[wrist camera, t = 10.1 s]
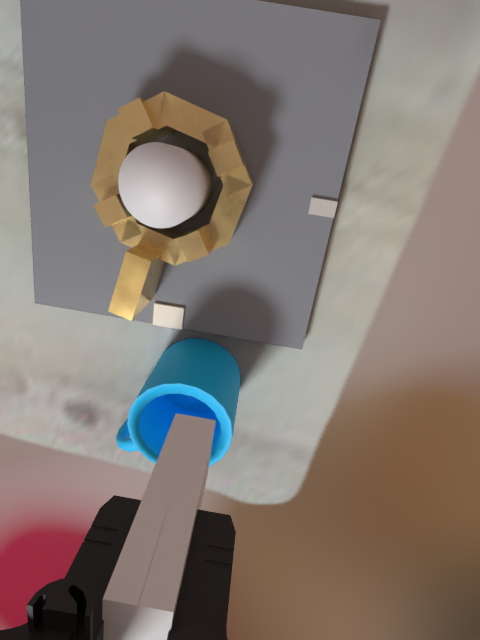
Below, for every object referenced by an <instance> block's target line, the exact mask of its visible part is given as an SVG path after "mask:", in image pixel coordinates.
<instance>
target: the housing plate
mask: <svg viewBox="0 0 480 640" xmlns="http://www.w3.org/2000/svg"><path fill="white" fill-rule="evenodd" d="M20 4H21V24H22V45H23V66H24V86H25V107H26V128H27V148H28V169H29V190H30V210H31V231H32V252H33V272H34V293H35V303H37V304H43V305H49V306H54V307H60V308H66V309H72V310H77V311H83V312H89V313H95V314H100V315H106V316H112V317H118V318H123V317H121V316H118V315H116V314H113V313H111V312H108V310H109V306H110V303H111V300H112V296H113V293H114V290H115V286H116V283H117V280H118V276H119V273H120V270H121V266H122V263H123V259H124V256H125V253H126V251H127V250H129V249H131V248H132V247H129V246H127V245H125V244H122V243H120V241H119V239H118V237H117V235H116V233H115V231H114V229H113V227H112V225H111V226H108V227H104V225H103V223H102V221H101V219H100V218H99V216H98V214H97V212H96V210H95V208H94V206H93V205H95V204H97V203H99V200H98V198H97V196H96V194H95V192H94V190H93V188H92V186H91V182H92V178H93V174H94V170H95V166H96V162H97V158H98V154H99V150H100V146H101V142H102V137H103V133H104V129H105V125H106V121H107V120H109V119H111V118H113V117H115V116H117V115H119V112H118V108H120V107H122V106H124V105H126V104H128V103H130V102H132V101H134V100H136V99H138V98H139V97H140V98H142V99H143V100H145V101H146V100H148V99H150V98H152V97H154V96H156V95H158V94H160V93H162V92H164V91H165V92H167V93H170V94H172V95H174V96H176V97H178V98H181V99H183V100H185V101H187V102H189V103H192V104H194V105H196V106H198V107H200V108H203V109H205V110H207V111H209V112H211V113H214V114H216V115H218V116H220V117H222V118H225V119H227V120H228V121H229V122H230V124H231V125H232V127H233V130H234V133H235V135H236V138H237V141H238V143H239V146H240V148H241V151H242V154H243V156H244V159H245V162H246V164H247V167H248V170H249V172H250V175H251V178H252V180H253V183H254V185H253V188H252V190H251V193H250V195H249V198H248V200H247V203H246V205H245V208H244V210H243V212H242V215H241V217H240V220H239V222H238V225H237V227H236V230H235V232H234V235H233V237H232V239H231V241H230V242H229V244H228V245H225V246H223V247H220V248H218V249H215V250H213V251H211V252H210V254H209V255H206V256H204V257H201V258H199V259H196V260H194V261H191V262H189V263H188V261H186V262H183V263H181V264H178V265H176V266H175V265H172V264H170V263H168V262H166V263H165V266H164V269H163V272H162V275H161V278H160V280H159V283H158V286H157V289H156V292H155V295H154V298H153V299H152V300H151V301H150V302H149V303H148V304H147V305H146V306H145V307H144V308H143V309H142V311H141V312H140V313H139V314H138V315H137V316H136V317H135V318H134V319H133V320H135V321H141V322H147V323H152V324H153V325H157V326H163V327H169V328H174V329H180V330H182V329H187V330H193V331H199V332H204V333H210V334H216V335H222V336H227V337H233V338H239V339H245V340H250V341H256V342H262V343H268V344H273V345H279V346H285V347H291V348H297V349H302V347H303V343H304V339H305V335H306V331H307V326H308V322H309V318H310V314H311V310H312V306H313V301H314V297H315V293H316V289H317V285H318V280H319V276H320V272H321V268H322V264H323V260H324V255H325V251H326V247H327V243H328V239H329V235H330V230H331V226H332V222H333V218H334V216H335V212H336V208H337V204H338V202H337V201H338V197H339V193H340V189H341V184H342V180H343V176H344V172H345V168H346V164H347V159H348V155H349V151H350V147H351V143H352V139H353V134H354V130H355V126H356V122H357V118H358V113H359V109H360V105H361V101H362V97H363V93H364V88H365V84H366V80H367V76H368V72H369V68H370V63H371V59H372V55H373V51H374V47H375V43H376V38H377V34H378V30H379V26H380V22H381V20H378V19H372V18H366V17H359V16H353V15H347V14H341V13H335V12H328V11H322V10H316V9H310V8H303V7H297V6H291V5H285V4H278V3H272V2H266V1H260V0H20ZM208 151H209V148H208V146H207V143H205V142H202V141H200V140H198V139H196V138H193V137H191V136H189V135H187V134H184V133H182V132H180V131H178V130H176V131H174V132H172V133H170V134H168V135H166V136H164V137H162V138H160V139H158V140H156V141H154V142H150V143H145V144H143V145H140V146H138V147H136V148H135V149H134V150H132V151H131V152H130V153H129V154H128V155H127V157H126V158H125V159H124V161H123V163H122V165H121V168H120V172H119V178H118V186H119V192H120V196H121V199H122V201H123V203H124V205H125V207H126V208H127V210H128V211H129V212H130V214H131V215H132V216H133V217H134V218H136V219H137V220H138V221H140V222H141V223H143V224H145V225H147V226H150V227H154V228H169V227H170V228H172V229H174V230H177V231H179V232H181V233H184V232H186V231H188V230H191V229H193V228H196V227H198V226H200V225H203V224H205V223H207V222H210V220H211V217H212V215H213V212H214V209H215V207H216V204H217V201H218V199H219V196H220V193H221V191H222V188H223V183H222V180H221V178H220V177H217V174H216V172H215V169H214V167H213V164H212V162H211V159H210V157H209V154H208ZM124 319H126V318H124Z"/></svg>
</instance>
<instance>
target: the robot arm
mask: <svg viewBox="0 0 480 640" xmlns="http://www.w3.org/2000/svg"><path fill="white" fill-rule="evenodd" d="M215 424H216V420H211V419H206V418H200V417H194V416H189V415H183V414H177V413H176V414H175V417H174V419H173V422H172V424H171V427H170V429H169V432H168V435H167V437H166V440H165V442H164V445H163V447H162V450H161V452H160V455H159V457H158V460H157V462H156V465H155V468H154V470H153V473H152V475H151V478H150V480H149V483H148V485H147V488H146V490H145V493H144V496H143V498H142V500H136V499H131V498H125V497H120V496H113V497H112V498H111V499H110V500H109V501H108V502H106V503H105V504H104V505H103V506H102V507H101V508H100V510H99V511H98V513H97V516H96V517H95V520H94V522H93V524H92V526H91V528H90V529H89V531H88V533H87V535H86V537H85V540H84V542H83V543H82V545H81V547H80V549H79V551H78V553H77V555H76V557H75V559H74V561H73V563H72V565H71V567H70V569H69V571H68V573H67V575H66V576H65V578H64V579H60V580H57V581H54V582H51V583H49V584H47V585H46V586H44V587H43V588H42V589H40V590H39V591H38V592H37V593H36V594H35V595H34V596H33V597H32V599H31V600H30V601H29V603H28V604H27V615H28V622H27V623H26V624H24V625H21V626H18V627H14V628H11V629H6V630H0V640H227V636H226V623H227V622H226V621H227V613H228V603H229V593H230V583H231V572H232V562H233V551H234V543H235V533H236V532H235V529H234V526H233V522H232V519H231V516H230V515H225V514H220V513H214V512H209V511H203V510H200V508H201V503H202V498H203V493H204V489H205V484H206V480H207V474H208V468H209V462H210V455H211V449H212V443H213V436H214V430H215Z"/></svg>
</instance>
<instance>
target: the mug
mask: <svg viewBox="0 0 480 640" xmlns="http://www.w3.org/2000/svg"><path fill="white" fill-rule="evenodd" d="M240 382H241V380H240V370H239V367H238V365H237V363H236V361H235V359H234V357H233V356H232V355H231V354H230V353H229V352H228V351H227V350H226V349H225V348H224V347H222V346H220V345H219V344H217V343H215V342H213V341H210V340H206V339H202V338H191V339H184V340H181V341H179V342H176V343H174V344H173V345H171V346H170V347H169V348H168V349H166V350H165V351H164V353H163V354H162V356H161V358H160V359H159V361H158V363H157V365H156V366H155V368H154V370H153V371H152V373H151V375H150V376H149V378H148V380H147V381H146V383H145V385H144V386H143V388H142V390H141V391H140V393H139V395H138V396H137V398H136V400H135V402H134V403H133V405H132V407H131V408H130V410H129V416H128V419H127V420H126V421H125V422H124V424H123V425H122V426H121V428H120V429H119V431H118V434H117V436H116V440H117V444H118V446H119V447H120V448H121V449H123V450H126V451H129V452H131V451H136V450H139V451H140V452H141V453H142V454H143V455H144V456H145V457H146V458H147V459H149V460H150V461H152V462H154V463H156V462H157V460H158V457H159V455H160V452H161V450H162V447H163V445H164V442H165V440H166V437H167V435H168V432H169V429H170V427H171V424H172V422H173V419H174V417H175V414H176V413H177V414H183V415H189V416H194V417H200V418H206V419H211V420H216V424H215V430H214V436H213V443H212V449H211V455H210V462H209V467H210V466H211V465H213V464H214V463H216V462H217V461H219V460H220V459H221V458H222V457H223V456H224V454H225V453H226V452H227V450H228V449H229V446H230V443H231V439H232V435H233V429H234V422H235V415H236V409H237V402H238V395H239V388H240ZM129 437H130V438H129Z"/></svg>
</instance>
